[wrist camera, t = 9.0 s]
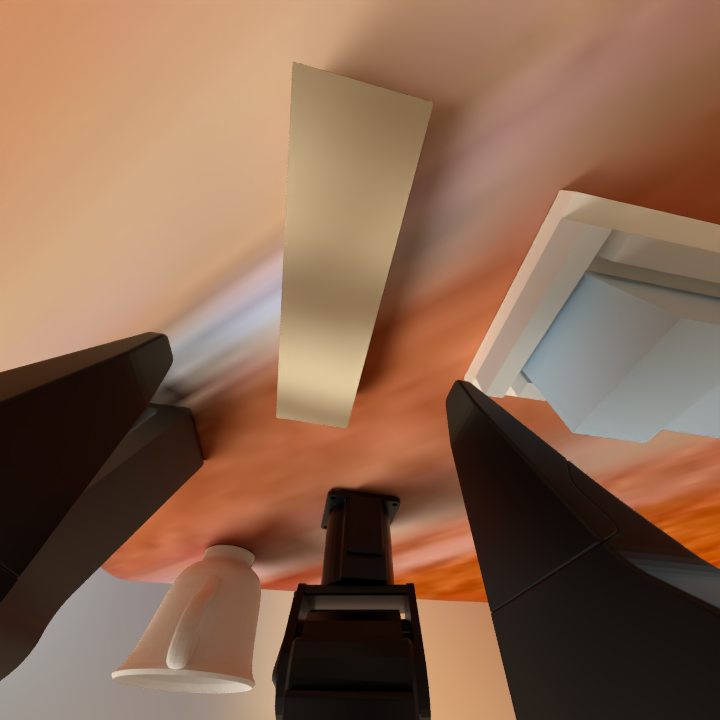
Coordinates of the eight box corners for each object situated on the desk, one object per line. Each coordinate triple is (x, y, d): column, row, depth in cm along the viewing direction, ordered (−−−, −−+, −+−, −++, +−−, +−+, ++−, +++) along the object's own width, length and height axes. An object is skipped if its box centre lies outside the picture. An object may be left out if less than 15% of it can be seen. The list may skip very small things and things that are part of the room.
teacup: (288, 526, 28) (256, 673, 20) (278, 577, 36) (253, 695, 28) (164, 511, 27) (75, 663, 18) (183, 567, 35) (128, 689, 27)
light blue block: (514, 359, 15) (572, 433, 11) (571, 266, 12) (680, 317, 8) (706, 391, 16) (827, 469, 12) (801, 313, 13) (1002, 380, 9)
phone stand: (85, 447, 21) (-157, 688, 11) (49, 390, 18) (-342, 662, 8) (205, 461, 22) (76, 697, 12) (192, 408, 19) (-2, 676, 9)
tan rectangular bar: (349, 393, 18) (346, 428, 16) (288, 383, 18) (276, 417, 15) (417, 119, 10) (434, 102, 8) (311, 89, 10) (292, 61, 7)
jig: (860, 259, 12) (958, 276, 10) (677, 411, 18) (717, 442, 16) (560, 190, 11) (604, 194, 9) (463, 378, 17) (477, 407, 15)
